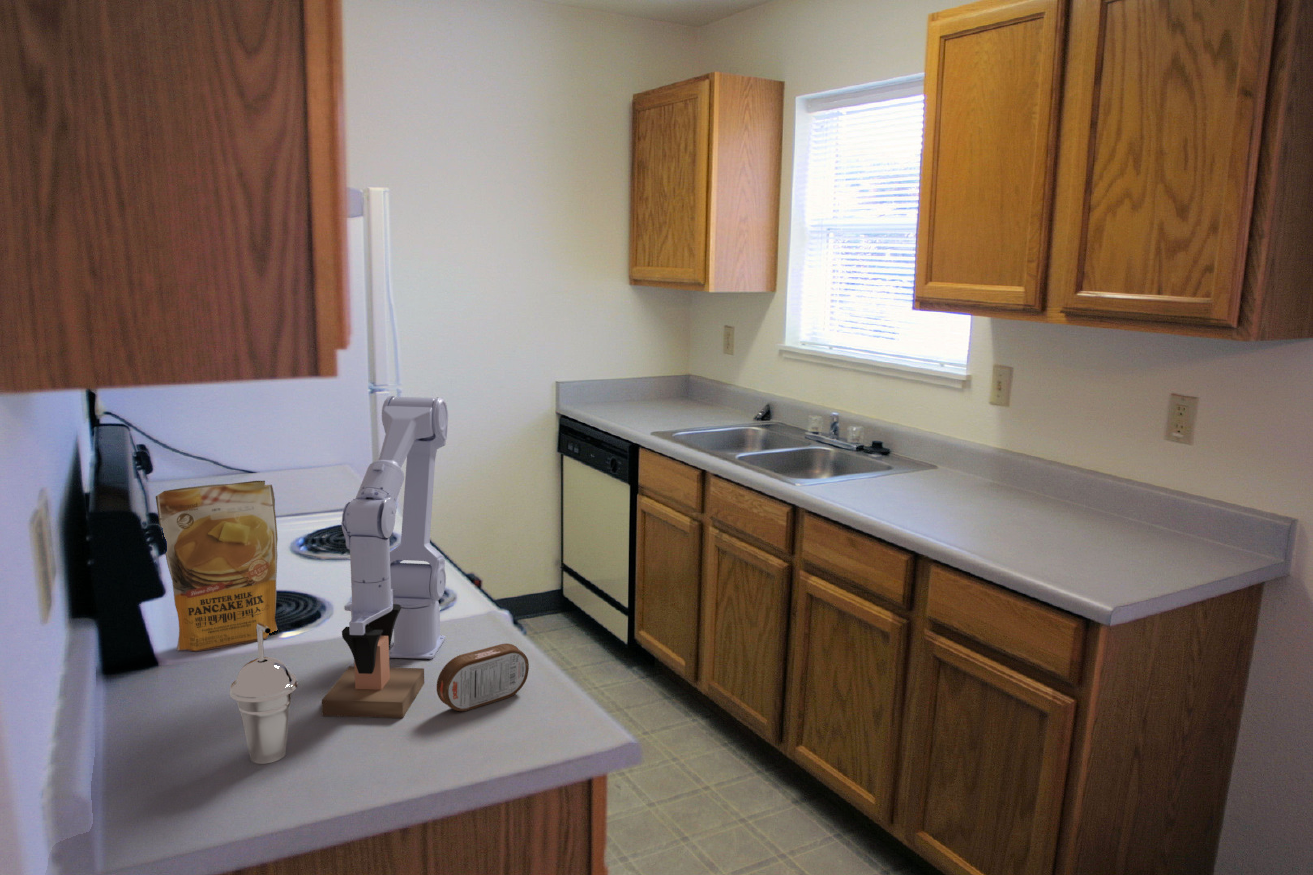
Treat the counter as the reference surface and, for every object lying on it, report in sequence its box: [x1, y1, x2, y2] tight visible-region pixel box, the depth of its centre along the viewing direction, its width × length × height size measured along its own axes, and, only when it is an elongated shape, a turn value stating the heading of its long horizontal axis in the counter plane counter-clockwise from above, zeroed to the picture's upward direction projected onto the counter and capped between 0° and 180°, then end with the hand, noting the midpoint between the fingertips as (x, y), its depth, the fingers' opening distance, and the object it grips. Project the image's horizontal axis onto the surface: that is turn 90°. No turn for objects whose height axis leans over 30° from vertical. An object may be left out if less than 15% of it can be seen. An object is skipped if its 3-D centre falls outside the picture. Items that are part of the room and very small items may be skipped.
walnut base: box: [321, 665, 425, 719], centre depth 146 cm, size 12×12×2 cm
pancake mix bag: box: [155, 480, 279, 652], centre depth 165 cm, size 7×19×28 cm, turn 122°
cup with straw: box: [229, 622, 299, 765], centre depth 127 cm, size 8×9×20 cm
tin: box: [436, 642, 530, 712], centre depth 145 cm, size 15×3×8 cm, turn 130°
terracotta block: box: [353, 636, 390, 690], centre depth 145 cm, size 4×4×7 cm
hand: (374, 662), depth 145 cm, fingers open, 7 cm apart
